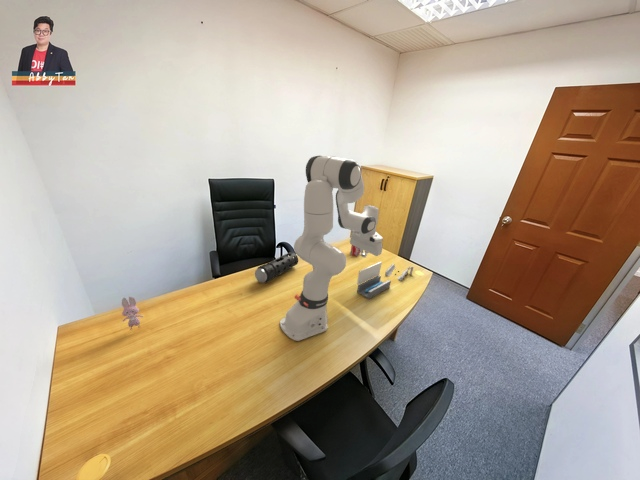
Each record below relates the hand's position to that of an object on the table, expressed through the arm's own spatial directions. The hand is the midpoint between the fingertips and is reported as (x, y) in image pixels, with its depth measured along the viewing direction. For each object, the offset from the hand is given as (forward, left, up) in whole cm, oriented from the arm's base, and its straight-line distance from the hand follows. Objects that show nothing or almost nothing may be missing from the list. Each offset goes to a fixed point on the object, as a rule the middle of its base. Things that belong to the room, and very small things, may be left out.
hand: (363, 256), depth 133 cm
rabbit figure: (-104, +28, -16) cm, 109 cm away
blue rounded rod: (0, -11, -15) cm, 19 cm away
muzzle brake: (-37, +32, -17) cm, 52 cm away
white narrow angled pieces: (+29, -10, -17) cm, 35 cm away
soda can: (+26, +25, -16) cm, 39 cm away
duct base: (0, -11, -16) cm, 20 cm away
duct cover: (0, -7, -12) cm, 14 cm away
